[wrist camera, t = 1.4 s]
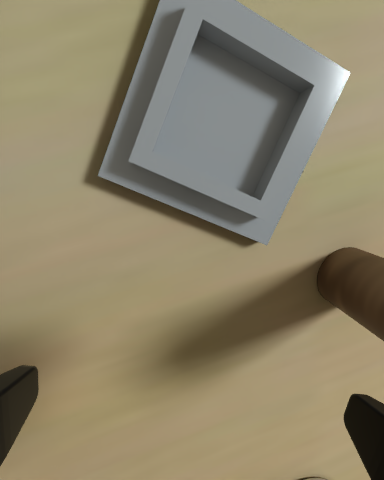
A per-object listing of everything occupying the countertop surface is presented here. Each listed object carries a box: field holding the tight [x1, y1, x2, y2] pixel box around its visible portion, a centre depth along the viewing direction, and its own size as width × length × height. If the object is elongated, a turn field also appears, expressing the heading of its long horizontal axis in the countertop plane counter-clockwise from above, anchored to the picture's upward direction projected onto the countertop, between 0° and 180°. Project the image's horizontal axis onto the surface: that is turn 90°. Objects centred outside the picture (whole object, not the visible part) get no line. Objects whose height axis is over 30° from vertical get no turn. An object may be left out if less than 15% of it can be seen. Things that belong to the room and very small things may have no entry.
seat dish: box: [98, 0, 350, 245], centre depth 16 cm, size 12×12×3 cm
